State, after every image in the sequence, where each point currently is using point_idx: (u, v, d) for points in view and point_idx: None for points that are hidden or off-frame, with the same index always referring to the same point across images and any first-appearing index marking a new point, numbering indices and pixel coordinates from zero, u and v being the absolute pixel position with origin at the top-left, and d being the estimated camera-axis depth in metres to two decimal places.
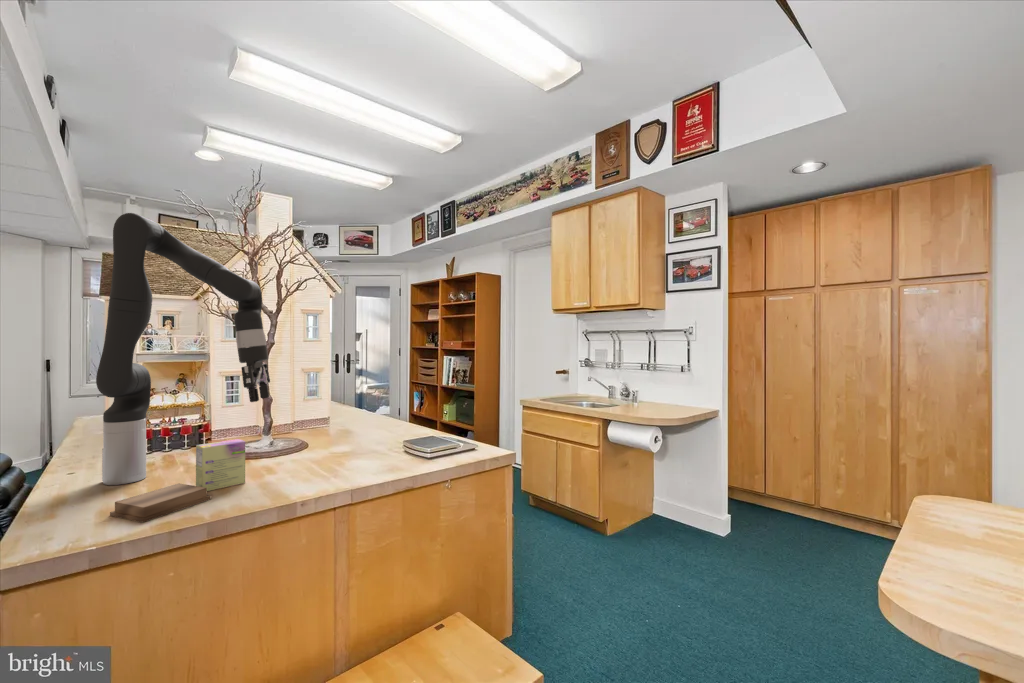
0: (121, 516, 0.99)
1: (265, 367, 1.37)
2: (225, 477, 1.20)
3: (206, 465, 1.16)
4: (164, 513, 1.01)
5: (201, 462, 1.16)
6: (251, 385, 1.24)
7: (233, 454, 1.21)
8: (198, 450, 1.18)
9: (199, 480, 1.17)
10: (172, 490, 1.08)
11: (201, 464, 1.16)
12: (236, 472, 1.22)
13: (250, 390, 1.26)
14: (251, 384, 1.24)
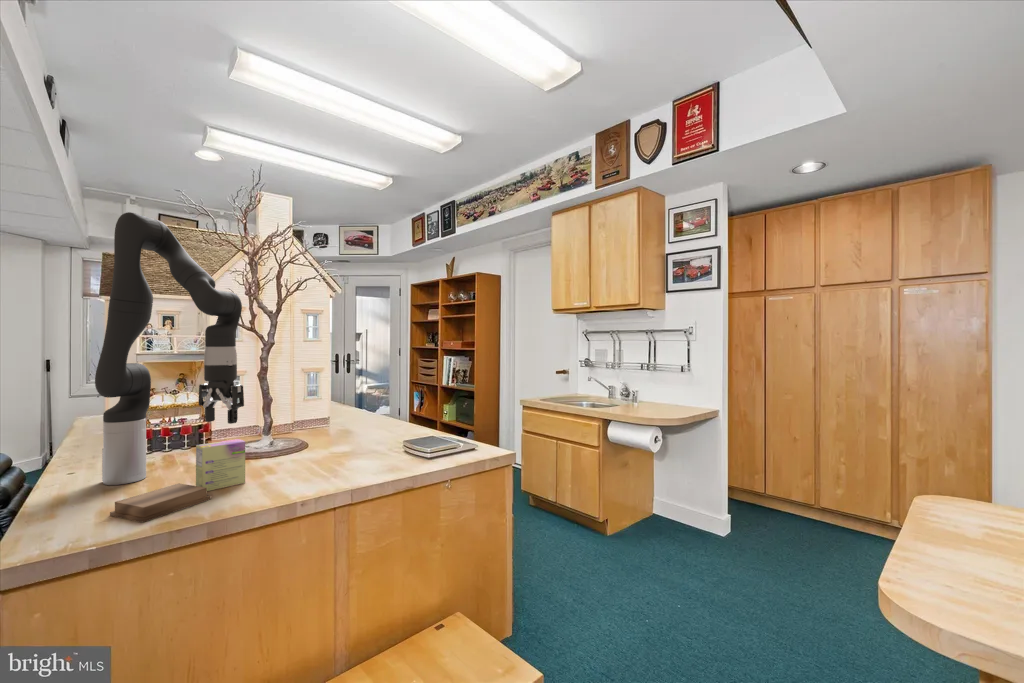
0: (121, 516, 0.99)
1: None
2: (225, 477, 1.20)
3: (206, 465, 1.16)
4: (164, 513, 1.01)
5: (201, 462, 1.16)
6: (242, 405, 1.20)
7: (233, 454, 1.21)
8: (198, 450, 1.18)
9: (199, 480, 1.17)
10: (172, 490, 1.08)
11: (201, 464, 1.16)
12: (236, 472, 1.22)
13: (234, 411, 1.19)
14: (242, 404, 1.20)
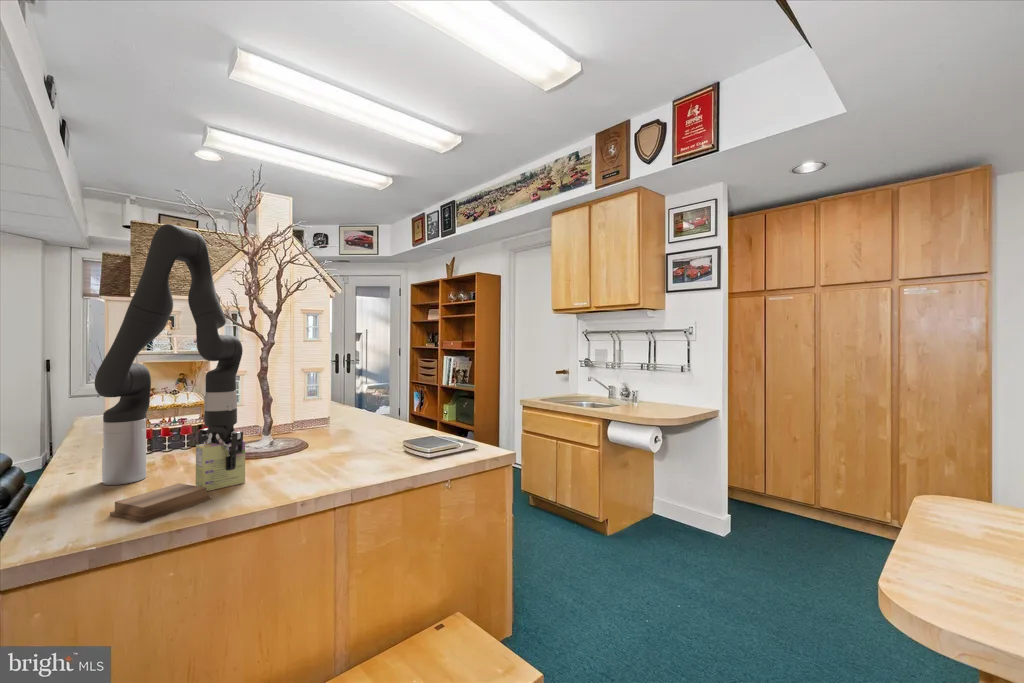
0: (121, 516, 0.99)
1: None
2: (225, 477, 1.20)
3: (206, 465, 1.16)
4: (164, 513, 1.01)
5: (201, 462, 1.16)
6: (240, 452, 1.20)
7: None
8: (198, 450, 1.18)
9: (199, 480, 1.17)
10: (172, 490, 1.08)
11: (201, 464, 1.16)
12: (236, 472, 1.22)
13: (232, 457, 1.19)
14: (240, 450, 1.20)
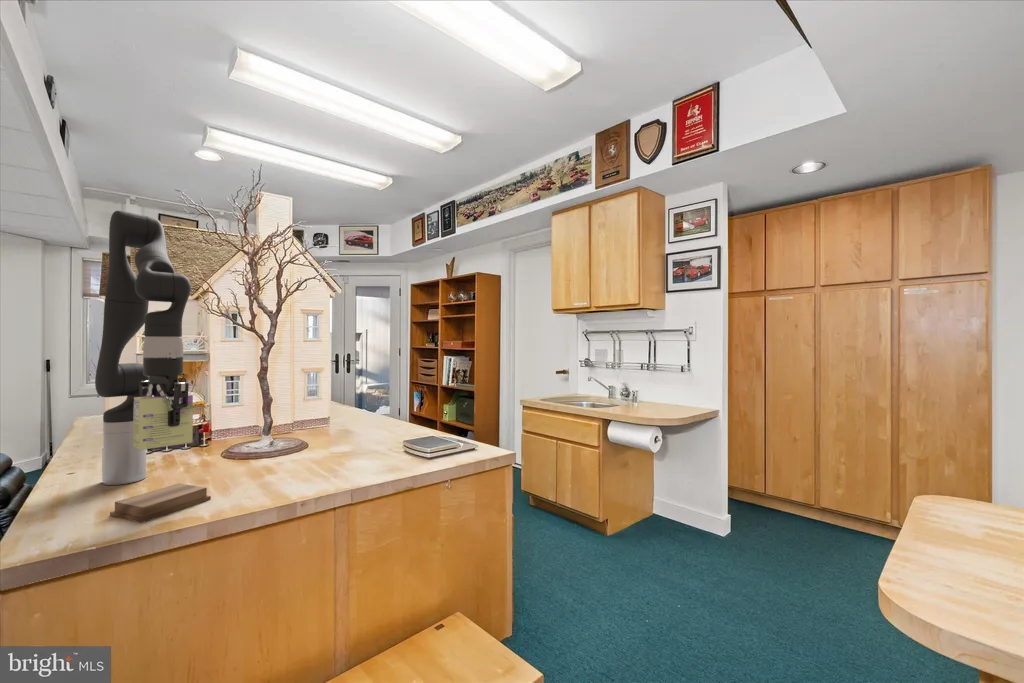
0: (121, 516, 0.99)
1: None
2: (168, 435, 1.04)
3: (144, 419, 1.01)
4: (164, 513, 1.01)
5: (138, 416, 1.00)
6: (185, 405, 1.04)
7: None
8: (135, 402, 1.02)
9: (136, 437, 1.01)
10: (172, 490, 1.08)
11: (138, 418, 1.01)
12: (182, 429, 1.06)
13: (175, 412, 1.04)
14: (185, 404, 1.04)
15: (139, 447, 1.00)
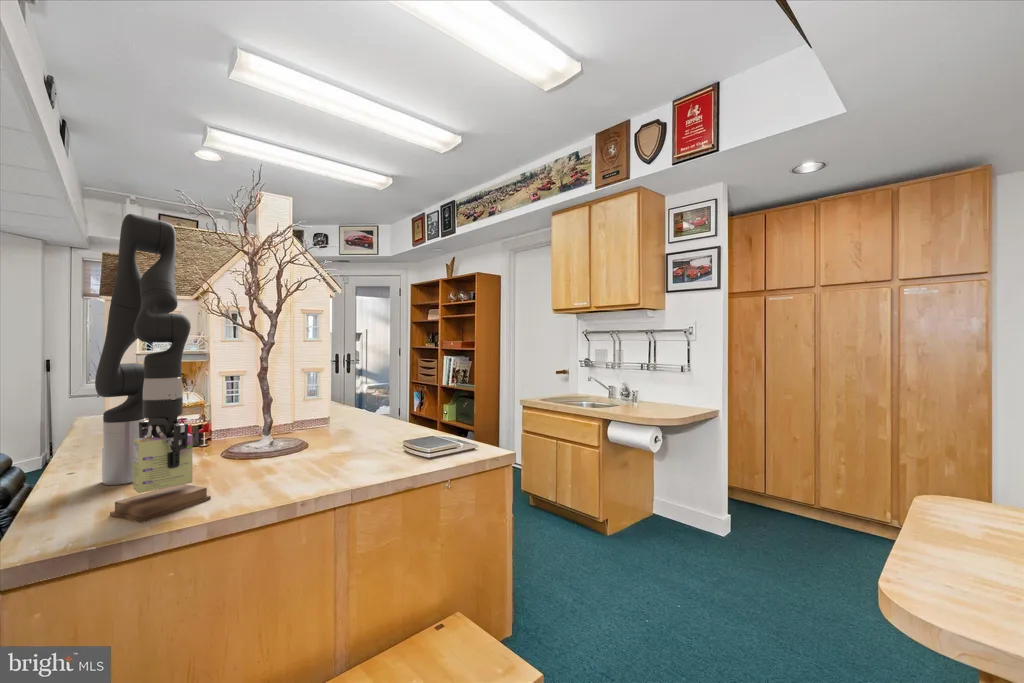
0: (121, 516, 0.99)
1: None
2: (168, 476, 1.04)
3: (143, 462, 1.01)
4: (164, 513, 1.01)
5: (138, 459, 1.00)
6: (184, 447, 1.04)
7: None
8: (135, 445, 1.02)
9: (136, 479, 1.01)
10: (172, 490, 1.08)
11: (137, 461, 1.01)
12: (181, 470, 1.06)
13: (175, 453, 1.04)
14: (185, 445, 1.04)
15: (139, 490, 1.00)
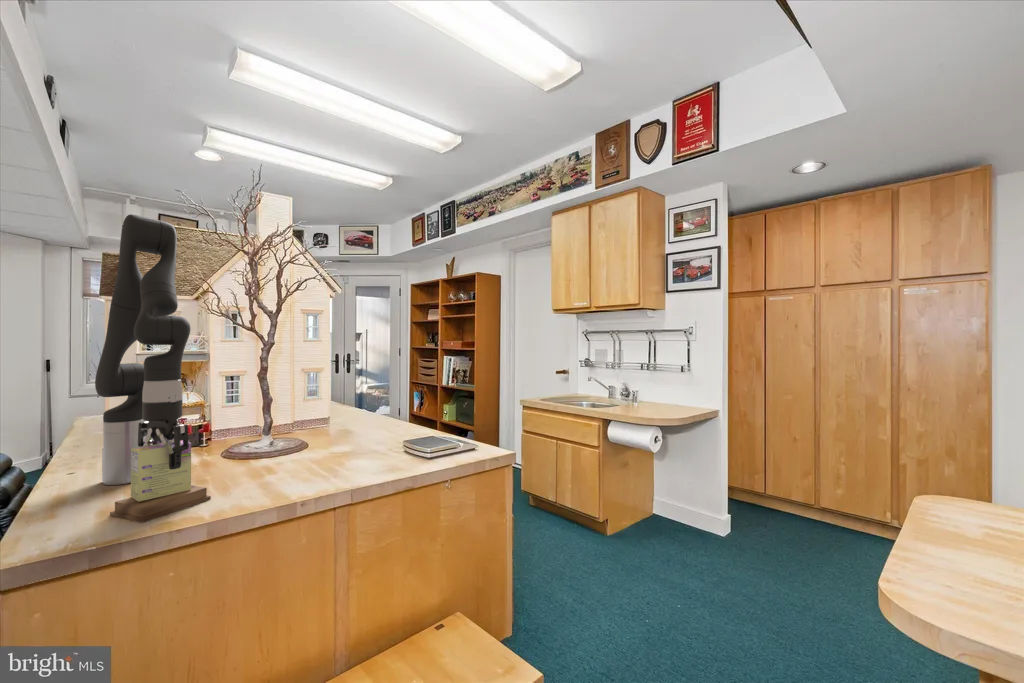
0: (121, 516, 0.99)
1: None
2: (167, 484, 1.05)
3: (143, 471, 1.01)
4: (164, 513, 1.01)
5: (137, 467, 1.00)
6: (186, 448, 1.04)
7: None
8: (133, 453, 1.02)
9: (134, 488, 1.01)
10: None
11: (137, 469, 1.01)
12: (180, 478, 1.07)
13: (176, 454, 1.04)
14: (186, 447, 1.04)
15: (138, 499, 1.00)
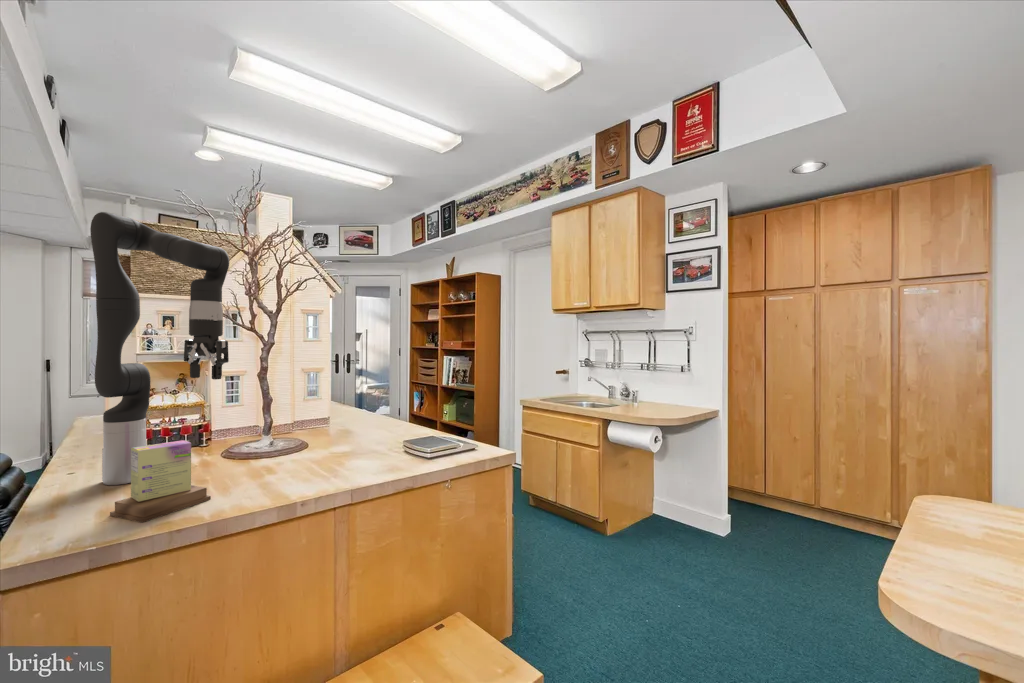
0: (121, 516, 0.99)
1: None
2: (167, 484, 1.05)
3: (143, 471, 1.01)
4: (164, 513, 1.01)
5: (137, 467, 1.00)
6: (226, 361, 1.17)
7: (176, 457, 1.06)
8: (133, 453, 1.02)
9: (134, 488, 1.01)
10: None
11: (137, 469, 1.01)
12: (180, 478, 1.07)
13: (218, 366, 1.17)
14: (227, 360, 1.18)
15: (138, 499, 1.00)
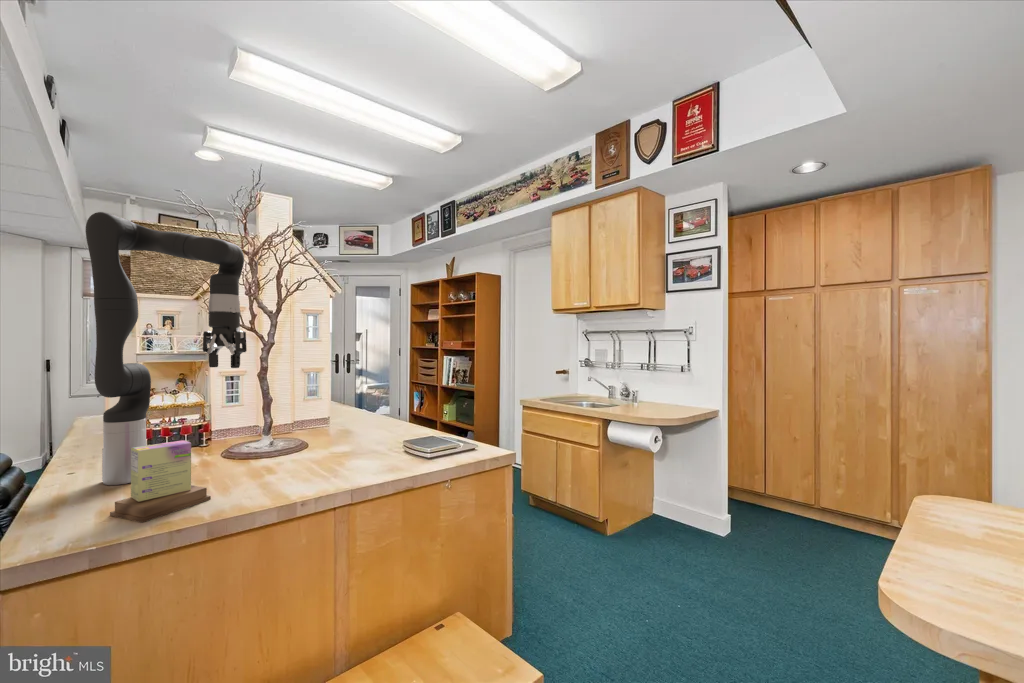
0: (121, 516, 0.99)
1: None
2: (167, 484, 1.05)
3: (143, 471, 1.01)
4: (164, 513, 1.01)
5: (137, 467, 1.00)
6: (244, 350, 1.25)
7: (176, 457, 1.06)
8: (133, 453, 1.02)
9: (134, 488, 1.01)
10: None
11: (137, 469, 1.01)
12: (180, 478, 1.07)
13: (236, 356, 1.24)
14: (245, 349, 1.25)
15: (138, 499, 1.00)
